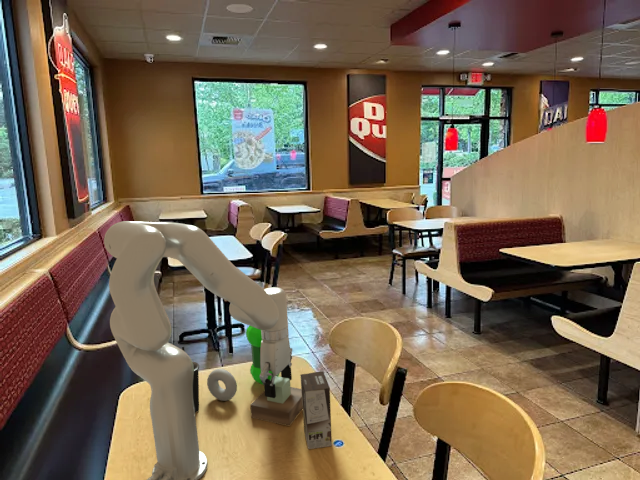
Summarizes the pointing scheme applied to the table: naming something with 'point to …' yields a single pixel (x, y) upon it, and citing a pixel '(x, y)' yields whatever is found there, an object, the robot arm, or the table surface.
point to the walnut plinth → (278, 408)
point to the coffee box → (316, 409)
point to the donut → (215, 387)
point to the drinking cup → (195, 385)
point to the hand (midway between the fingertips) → (278, 387)
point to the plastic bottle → (255, 352)
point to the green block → (281, 390)
